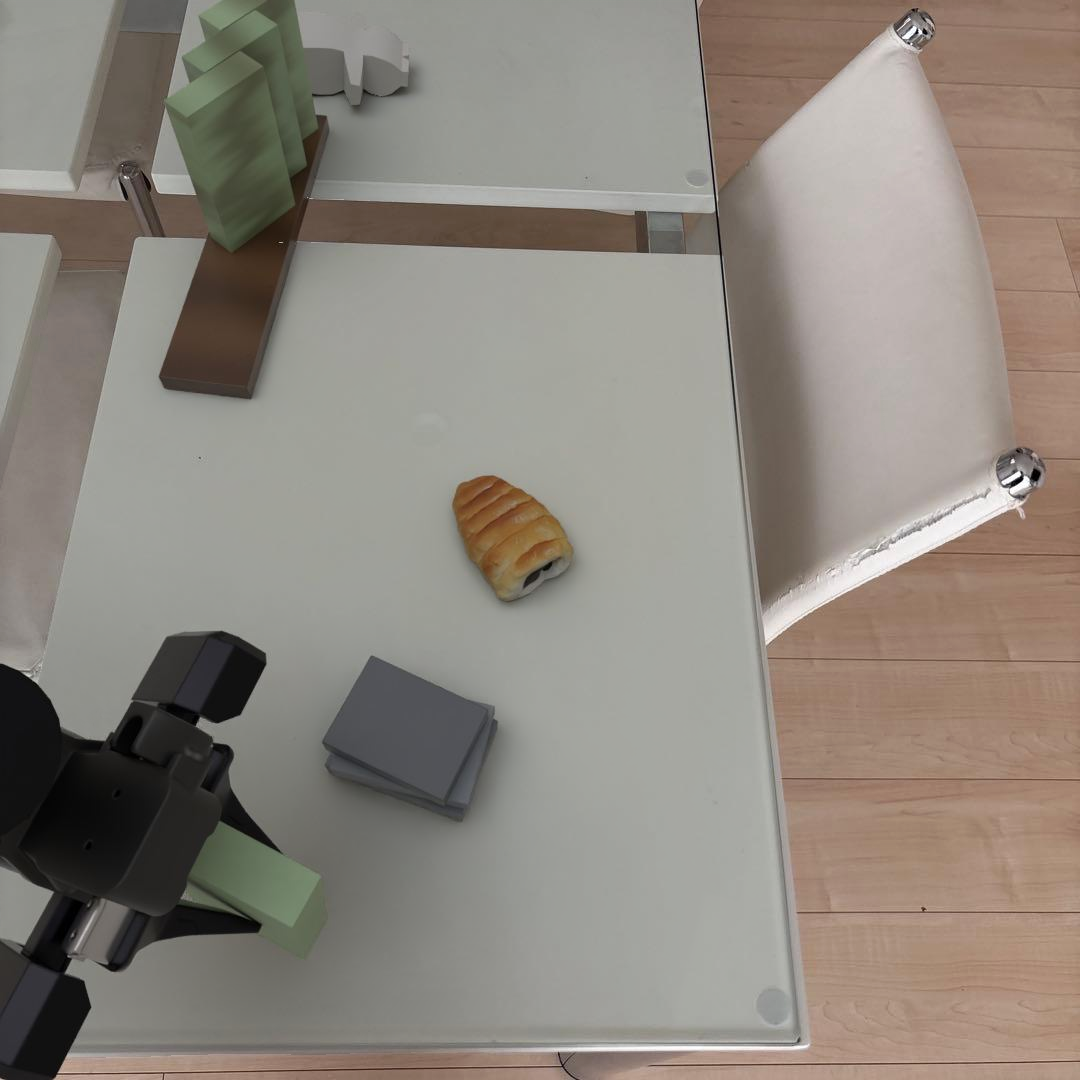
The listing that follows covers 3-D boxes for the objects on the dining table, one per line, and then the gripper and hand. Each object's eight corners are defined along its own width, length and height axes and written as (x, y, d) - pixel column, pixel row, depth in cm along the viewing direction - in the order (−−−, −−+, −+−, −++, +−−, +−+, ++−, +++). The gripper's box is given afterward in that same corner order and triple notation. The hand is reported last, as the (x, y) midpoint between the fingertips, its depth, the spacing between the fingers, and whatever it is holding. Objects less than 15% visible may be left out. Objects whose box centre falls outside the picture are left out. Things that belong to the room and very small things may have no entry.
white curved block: (408, 78, 83) (227, 56, 80) (405, 126, 87) (234, 107, 85) (410, 6, 87) (239, -17, 84) (408, 56, 92) (244, 35, 89)
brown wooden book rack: (251, 399, 72) (200, 265, 59) (164, 388, 72) (94, 252, 59) (329, 129, 85) (302, -30, 72) (255, 120, 85) (214, -40, 72)
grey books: (325, 776, 60) (312, 757, 56) (371, 676, 63) (363, 649, 59) (463, 829, 59) (462, 814, 55) (503, 724, 62) (505, 701, 58)
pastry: (429, 514, 69) (426, 488, 65) (505, 468, 71) (506, 440, 68) (505, 614, 66) (507, 592, 62) (583, 562, 68) (588, 538, 64)
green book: (192, 899, 52) (148, 851, 41) (218, 858, 54) (182, 800, 42) (305, 960, 52) (292, 928, 41) (328, 917, 53) (322, 875, 42)
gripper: (-153, 1088, 28) (267, 1176, 37) (168, 549, 36) (449, 727, 45) (-213, 992, 36) (145, 1084, 45) (62, 567, 44) (319, 716, 53)
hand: (270, 896), depth 47 cm, fingers closed on green book, 3 cm apart
